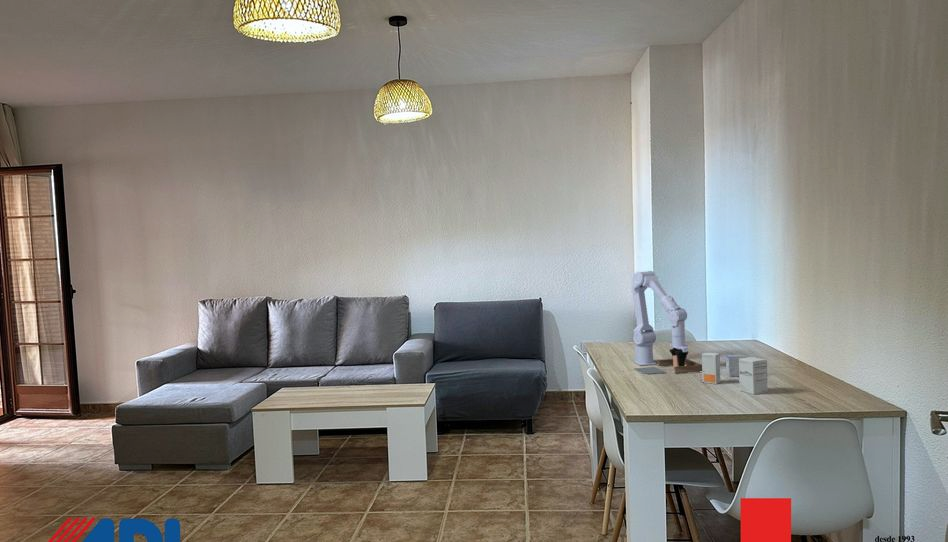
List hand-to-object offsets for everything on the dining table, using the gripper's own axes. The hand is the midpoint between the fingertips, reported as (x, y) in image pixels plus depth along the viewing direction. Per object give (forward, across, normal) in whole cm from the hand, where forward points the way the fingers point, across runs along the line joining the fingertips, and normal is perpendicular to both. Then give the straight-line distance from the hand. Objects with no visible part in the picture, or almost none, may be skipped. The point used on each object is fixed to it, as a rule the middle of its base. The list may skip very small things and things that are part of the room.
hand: (679, 365), depth 315 cm
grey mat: (+2, 0, +14) cm, 14 cm away
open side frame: (+2, 0, 0) cm, 2 cm away
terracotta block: (+2, 0, 0) cm, 2 cm away
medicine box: (+2, -22, -16) cm, 27 cm away
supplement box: (+2, -51, -7) cm, 52 cm away
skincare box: (+2, -31, 0) cm, 31 cm away
